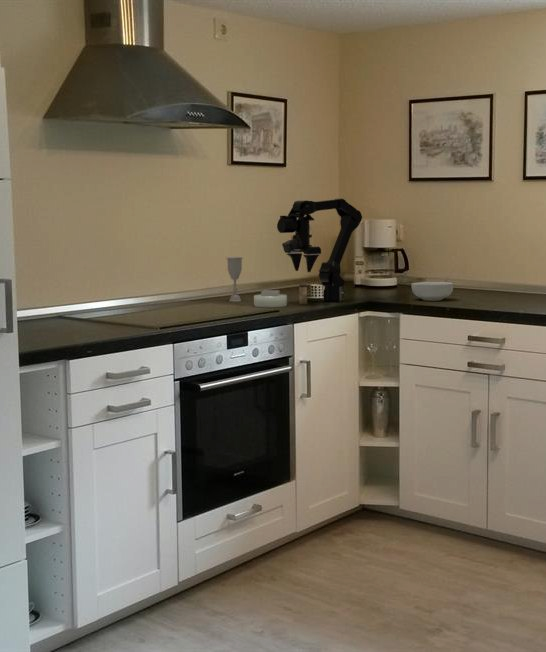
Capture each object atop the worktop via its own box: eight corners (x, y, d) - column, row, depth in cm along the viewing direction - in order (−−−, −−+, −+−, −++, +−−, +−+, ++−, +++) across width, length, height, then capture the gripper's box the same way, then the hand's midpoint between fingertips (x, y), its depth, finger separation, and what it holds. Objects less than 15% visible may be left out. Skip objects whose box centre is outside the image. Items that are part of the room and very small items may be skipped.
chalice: (241, 301, 395) (240, 257, 393) (225, 301, 396) (224, 258, 394) (245, 300, 402) (244, 257, 400) (229, 299, 403) (228, 257, 401)
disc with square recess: (291, 304, 382) (291, 289, 381) (280, 307, 370) (280, 292, 369) (260, 303, 386) (260, 289, 385) (249, 306, 374) (249, 292, 373)
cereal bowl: (457, 298, 398) (457, 281, 397) (447, 302, 383) (447, 284, 382) (417, 297, 405) (418, 280, 405) (406, 301, 390) (406, 283, 390)
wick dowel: (307, 303, 386) (307, 284, 385) (305, 304, 383) (305, 285, 382) (300, 303, 387) (300, 284, 386) (298, 303, 384) (298, 285, 383)
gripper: (273, 232, 385) (273, 271, 387) (297, 233, 369) (297, 273, 371) (296, 231, 391) (297, 269, 393) (321, 232, 375) (322, 272, 377)
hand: (302, 271), depth 383 cm, fingers open, 9 cm apart
